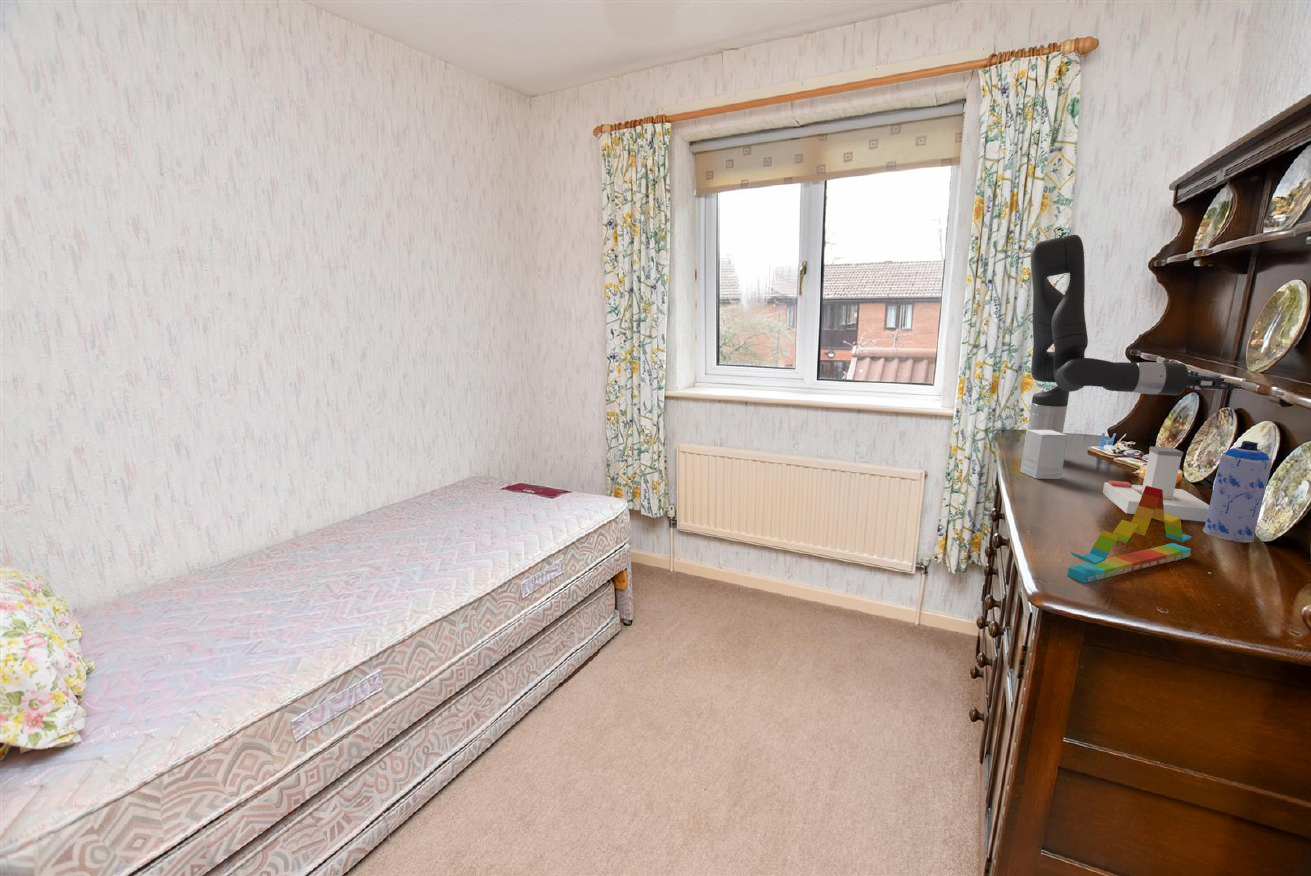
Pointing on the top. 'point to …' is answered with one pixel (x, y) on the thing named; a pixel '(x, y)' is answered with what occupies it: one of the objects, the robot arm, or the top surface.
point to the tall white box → (1162, 470)
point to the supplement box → (1044, 454)
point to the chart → (1133, 561)
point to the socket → (1178, 506)
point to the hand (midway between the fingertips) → (1244, 382)
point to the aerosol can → (1238, 493)
